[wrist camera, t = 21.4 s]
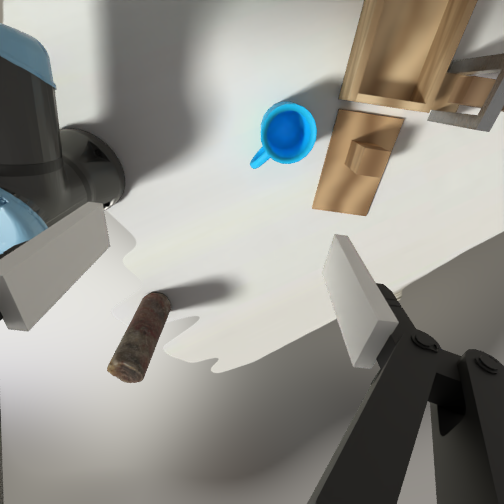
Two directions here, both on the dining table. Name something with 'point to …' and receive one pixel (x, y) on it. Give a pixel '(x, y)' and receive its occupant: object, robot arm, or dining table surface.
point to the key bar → (471, 91)
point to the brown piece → (140, 339)
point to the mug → (285, 134)
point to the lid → (355, 161)
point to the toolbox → (406, 53)
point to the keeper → (497, 98)
